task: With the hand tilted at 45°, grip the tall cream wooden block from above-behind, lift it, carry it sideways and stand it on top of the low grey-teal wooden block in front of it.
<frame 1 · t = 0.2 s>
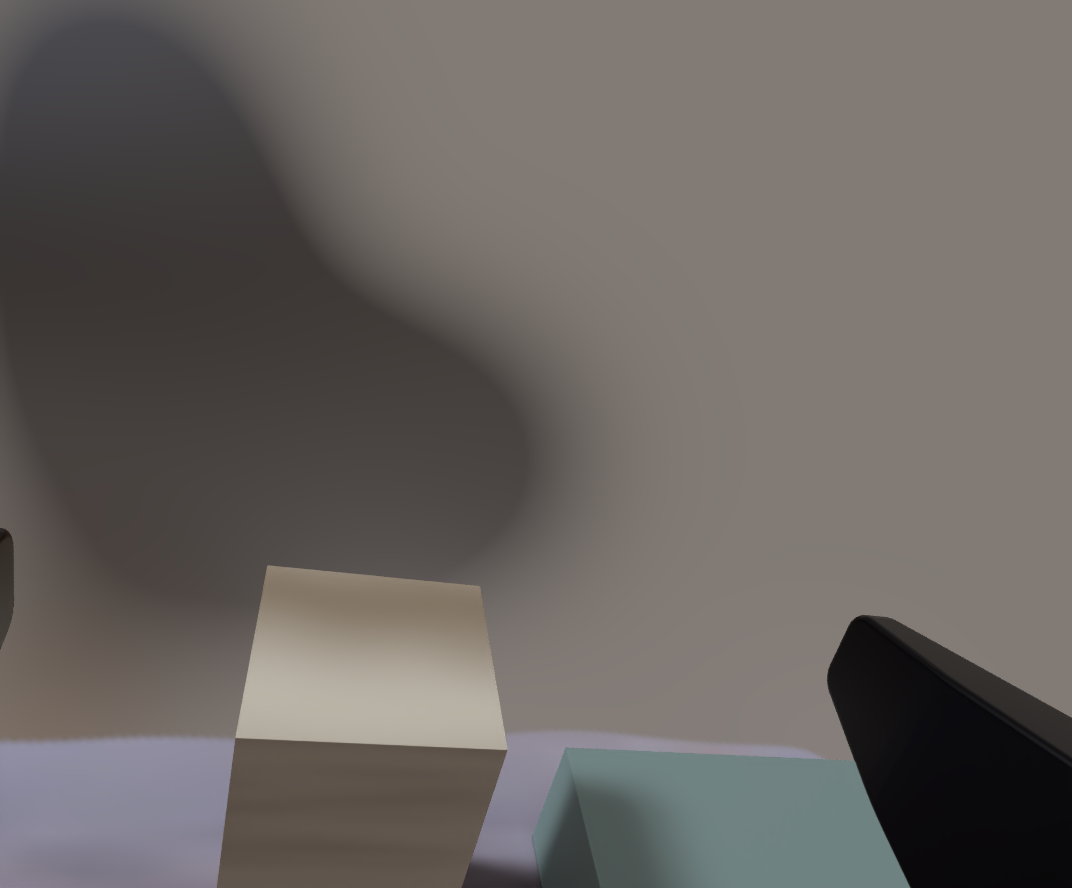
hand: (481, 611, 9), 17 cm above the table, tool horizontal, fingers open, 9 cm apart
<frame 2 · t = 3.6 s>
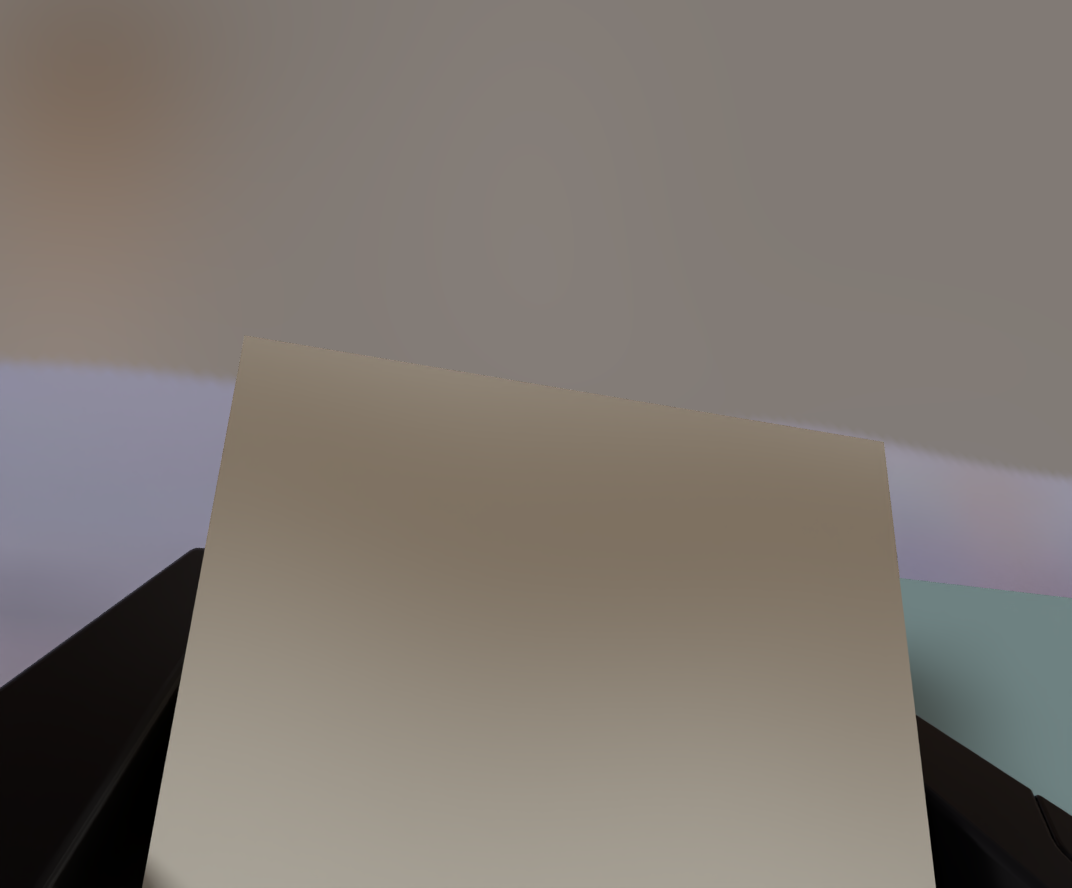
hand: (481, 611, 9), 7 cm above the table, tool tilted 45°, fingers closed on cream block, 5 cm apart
cream block: (385, 749, 14), on the table, touching gripper
base block: (951, 881, 16), on the table
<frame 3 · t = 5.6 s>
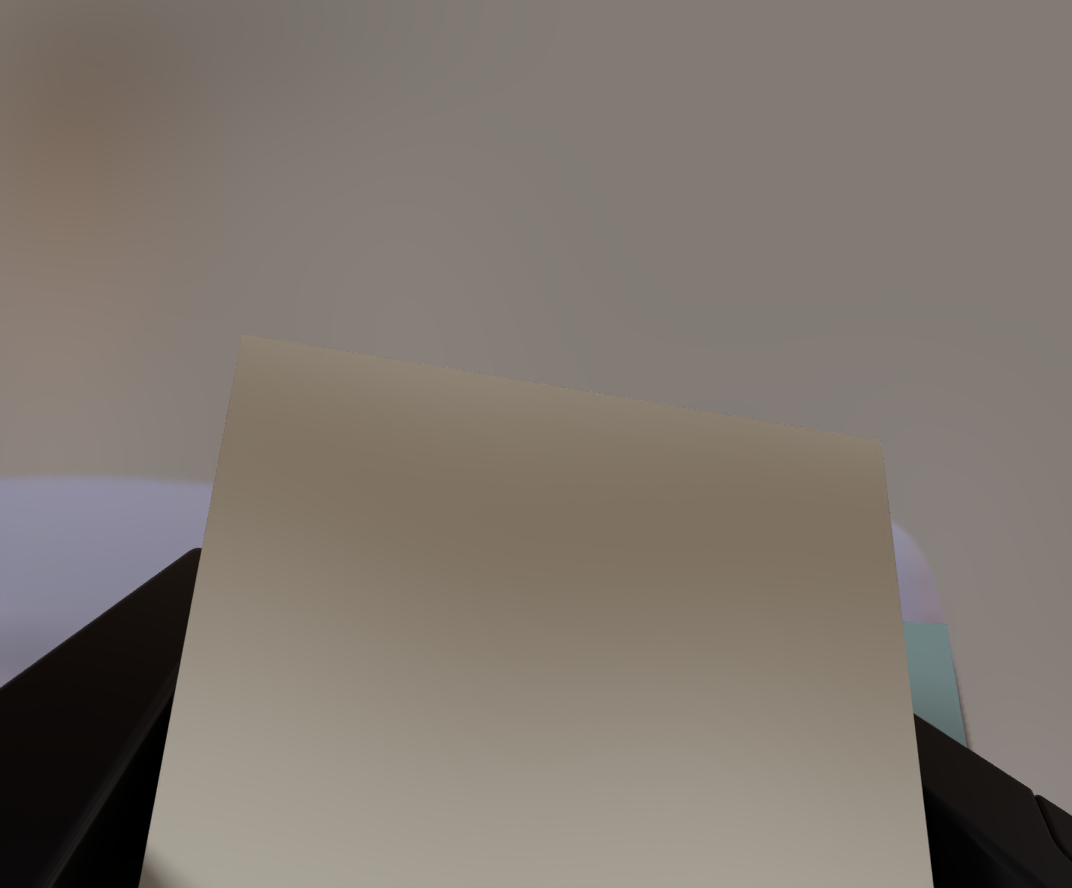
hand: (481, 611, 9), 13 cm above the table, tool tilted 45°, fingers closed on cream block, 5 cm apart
cream block: (384, 748, 14), point 7 cm above the table, touching gripper
base block: (718, 821, 23), on the table
when the fingers open (12 cm above the table, at t = 7.4 s): cream block drops 1 cm, resting on base block.
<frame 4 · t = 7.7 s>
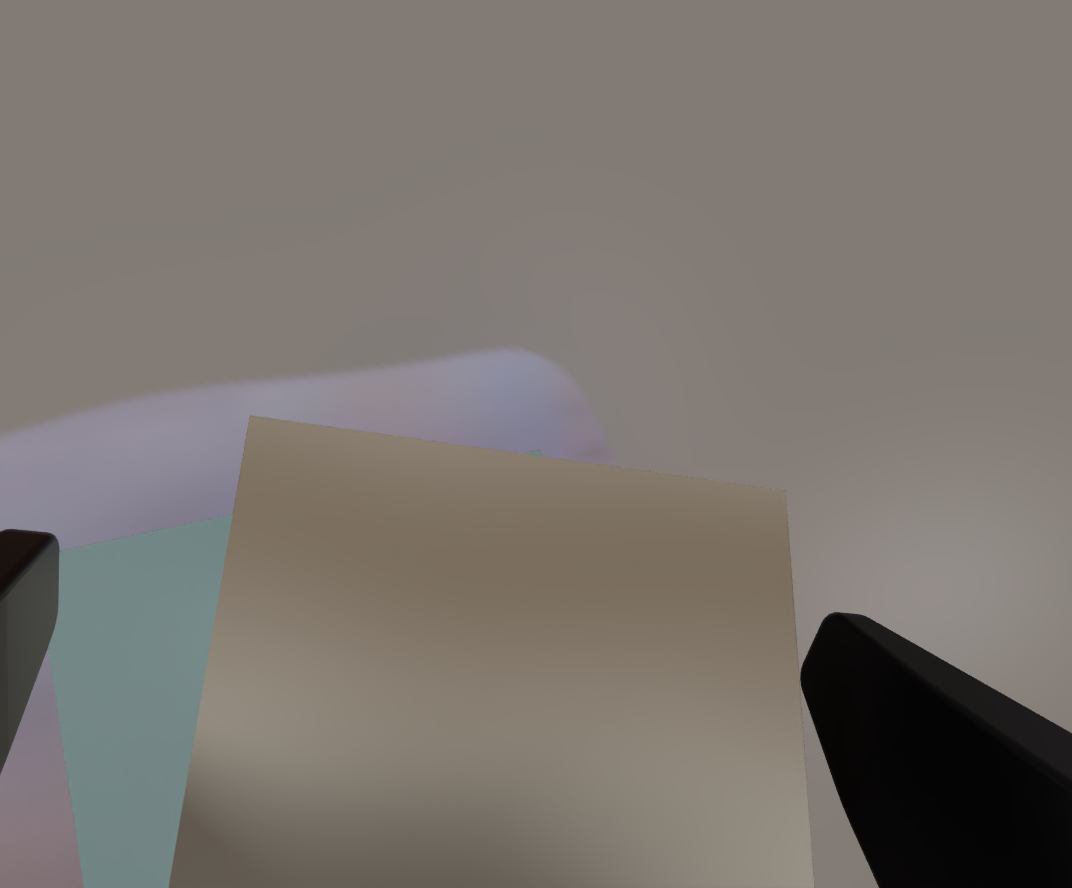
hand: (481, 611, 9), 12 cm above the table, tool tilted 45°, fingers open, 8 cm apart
cream block: (376, 748, 15), point 4 cm above the table, touching base block
base block: (354, 747, 19), on the table
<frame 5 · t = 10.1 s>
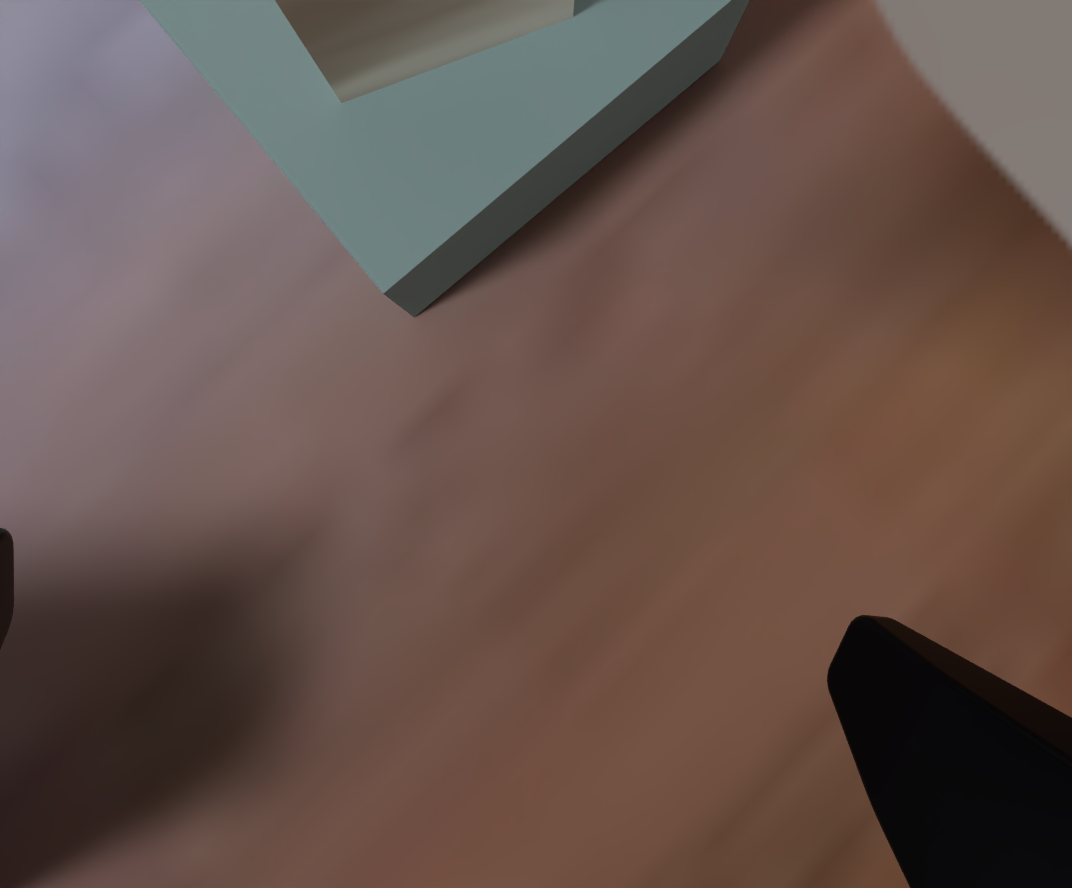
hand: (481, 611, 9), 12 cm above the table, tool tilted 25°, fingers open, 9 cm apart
base block: (438, 34, 21), on the table
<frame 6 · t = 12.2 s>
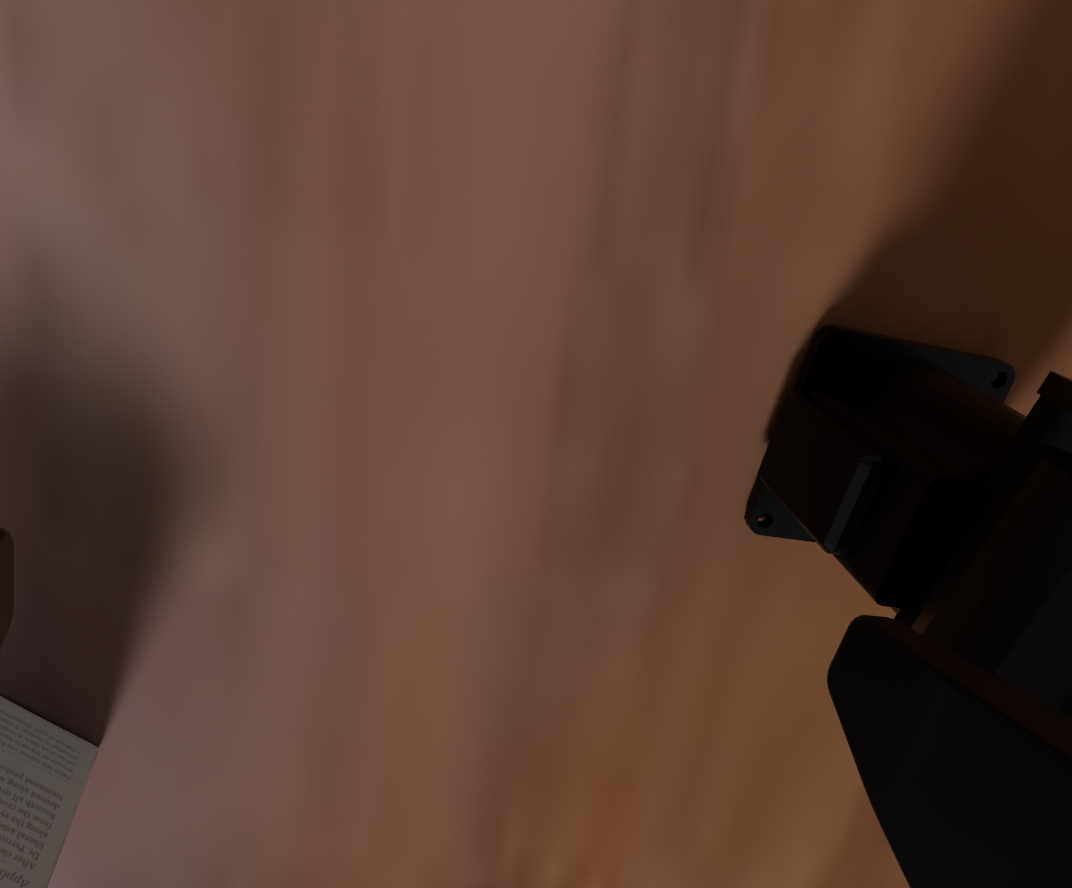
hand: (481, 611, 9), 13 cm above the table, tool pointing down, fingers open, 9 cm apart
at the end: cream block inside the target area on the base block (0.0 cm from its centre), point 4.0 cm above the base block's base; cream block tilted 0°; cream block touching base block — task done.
